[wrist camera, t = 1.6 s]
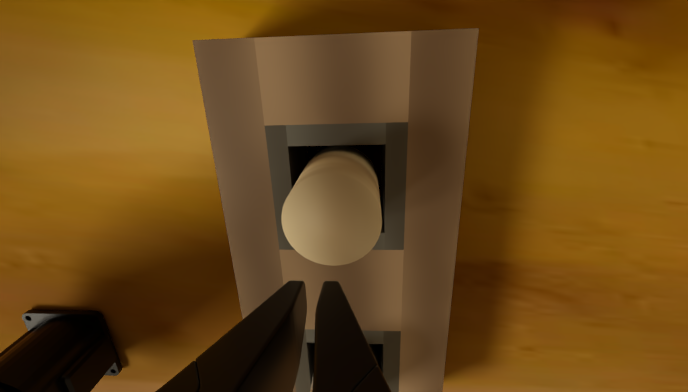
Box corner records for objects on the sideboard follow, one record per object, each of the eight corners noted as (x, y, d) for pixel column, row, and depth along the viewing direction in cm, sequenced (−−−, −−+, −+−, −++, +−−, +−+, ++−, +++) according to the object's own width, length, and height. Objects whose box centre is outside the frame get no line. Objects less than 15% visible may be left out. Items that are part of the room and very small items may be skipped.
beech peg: (305, 217, 19) (286, 265, 14) (299, 146, 17) (276, 175, 13) (377, 216, 18) (381, 265, 14) (378, 144, 17) (382, 173, 12)
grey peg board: (281, 380, 29) (264, 442, 24) (234, 46, 19) (192, 40, 14) (424, 385, 28) (436, 449, 23) (450, 37, 18) (478, 28, 14)
